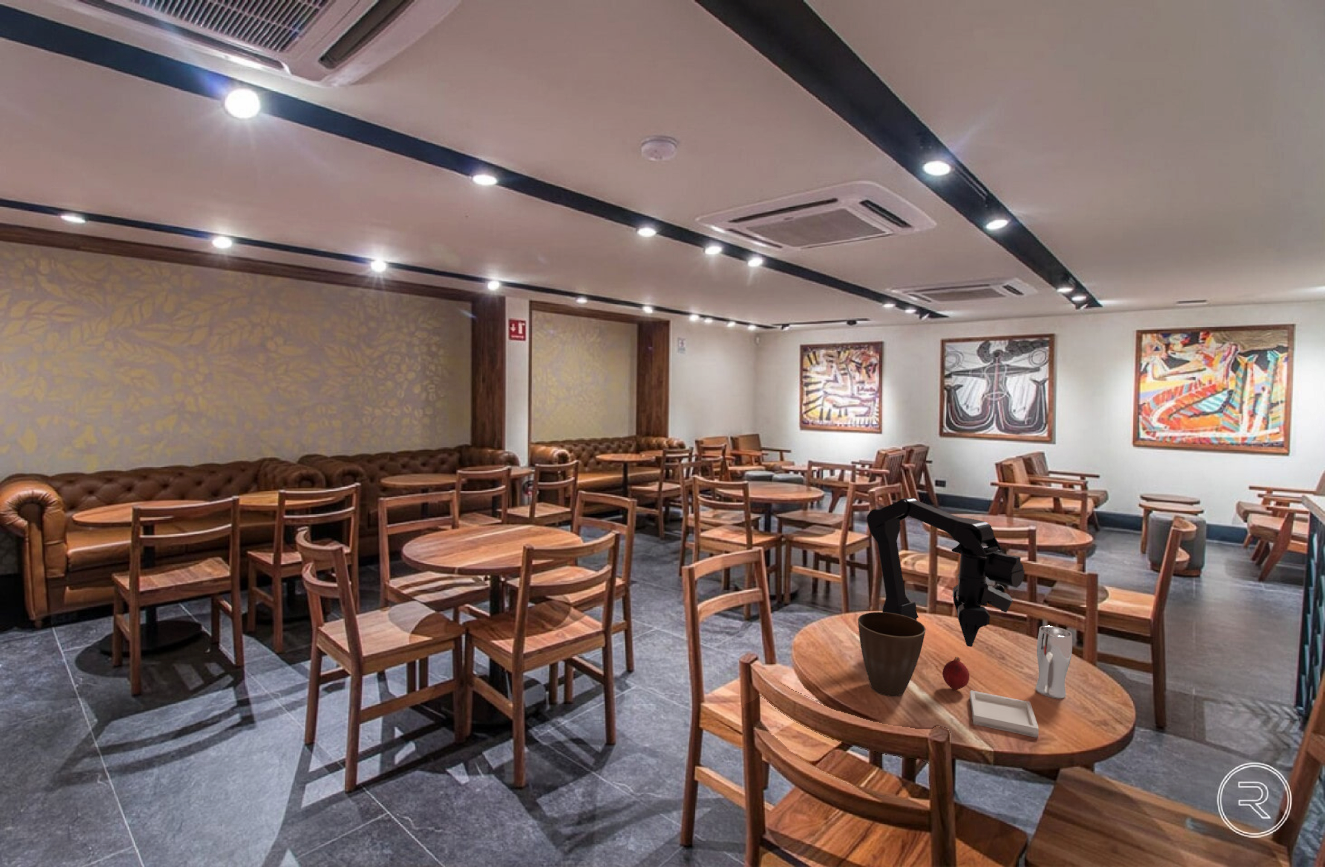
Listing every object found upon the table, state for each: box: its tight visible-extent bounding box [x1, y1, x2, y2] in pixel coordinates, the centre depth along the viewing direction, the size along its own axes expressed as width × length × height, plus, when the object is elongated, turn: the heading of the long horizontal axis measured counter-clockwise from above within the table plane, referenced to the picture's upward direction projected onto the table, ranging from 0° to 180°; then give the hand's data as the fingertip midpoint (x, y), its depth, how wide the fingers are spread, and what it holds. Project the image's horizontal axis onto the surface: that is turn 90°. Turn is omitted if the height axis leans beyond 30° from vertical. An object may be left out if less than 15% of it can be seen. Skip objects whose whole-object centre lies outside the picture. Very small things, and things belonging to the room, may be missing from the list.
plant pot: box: [857, 611, 926, 697], centre depth 147 cm, size 15×15×16 cm
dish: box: [969, 689, 1040, 739], centre depth 137 cm, size 12×12×2 cm
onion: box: [942, 656, 971, 691], centre depth 148 cm, size 6×6×8 cm
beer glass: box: [1035, 625, 1073, 700], centre depth 148 cm, size 7×7×15 cm
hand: (967, 638), depth 149 cm, fingers open, 9 cm apart
